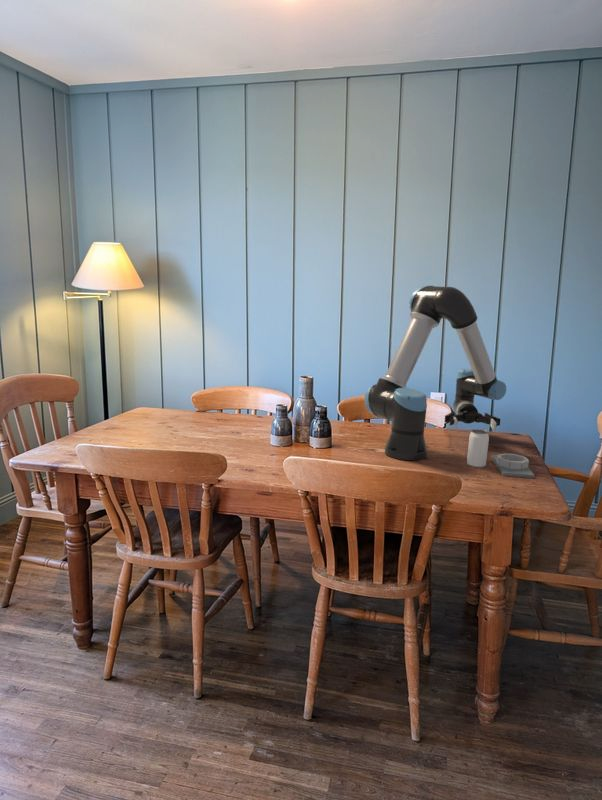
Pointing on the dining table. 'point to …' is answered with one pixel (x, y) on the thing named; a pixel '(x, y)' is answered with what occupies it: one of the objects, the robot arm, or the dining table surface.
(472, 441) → the can
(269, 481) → the dining table surface
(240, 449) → the dining table surface
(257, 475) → the dining table surface
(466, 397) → the robot arm
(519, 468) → the socket plate
